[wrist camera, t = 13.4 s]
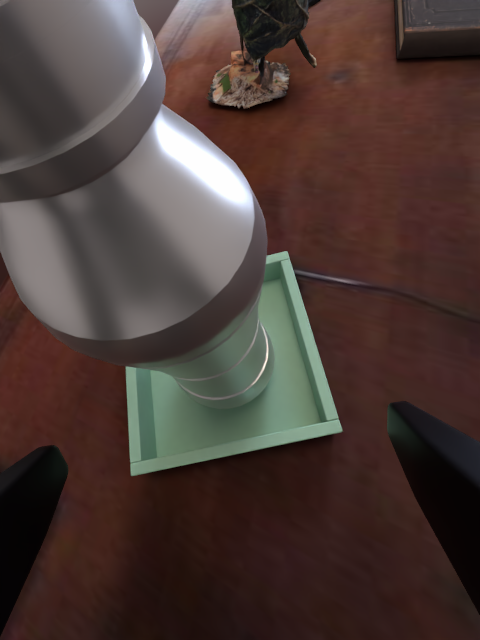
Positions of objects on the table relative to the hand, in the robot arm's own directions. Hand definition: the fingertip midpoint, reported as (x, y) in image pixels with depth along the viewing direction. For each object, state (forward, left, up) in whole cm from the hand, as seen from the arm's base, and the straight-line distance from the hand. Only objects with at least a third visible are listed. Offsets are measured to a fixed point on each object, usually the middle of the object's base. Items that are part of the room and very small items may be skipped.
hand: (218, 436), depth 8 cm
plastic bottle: (+5, +1, -13) cm, 14 cm away
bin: (+5, +1, -13) cm, 14 cm away
